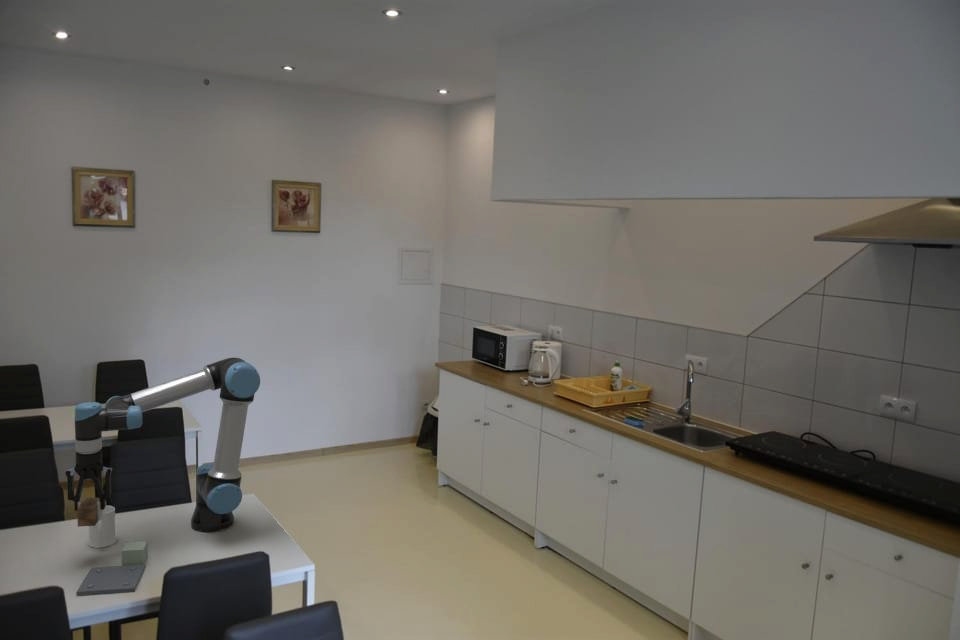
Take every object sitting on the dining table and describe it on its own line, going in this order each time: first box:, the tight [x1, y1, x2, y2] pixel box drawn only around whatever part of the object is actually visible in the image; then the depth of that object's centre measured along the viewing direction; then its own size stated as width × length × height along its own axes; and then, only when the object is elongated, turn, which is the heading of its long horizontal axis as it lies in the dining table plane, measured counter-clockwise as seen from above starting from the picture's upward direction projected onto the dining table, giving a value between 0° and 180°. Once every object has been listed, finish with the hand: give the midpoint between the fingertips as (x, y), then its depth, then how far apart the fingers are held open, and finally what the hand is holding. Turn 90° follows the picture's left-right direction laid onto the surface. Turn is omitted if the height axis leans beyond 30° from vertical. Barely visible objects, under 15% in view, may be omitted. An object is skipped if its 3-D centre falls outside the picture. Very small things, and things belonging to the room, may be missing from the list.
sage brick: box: [121, 540, 149, 566], centre depth 235 cm, size 6×6×6 cm
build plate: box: [75, 563, 146, 597], centre depth 223 cm, size 16×16×2 cm
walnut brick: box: [76, 497, 99, 528], centre depth 233 cm, size 5×9×6 cm, turn 14°
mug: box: [87, 505, 117, 549], centre depth 246 cm, size 12×8×12 cm
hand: (90, 519), depth 233 cm, fingers closed on walnut brick, 5 cm apart
